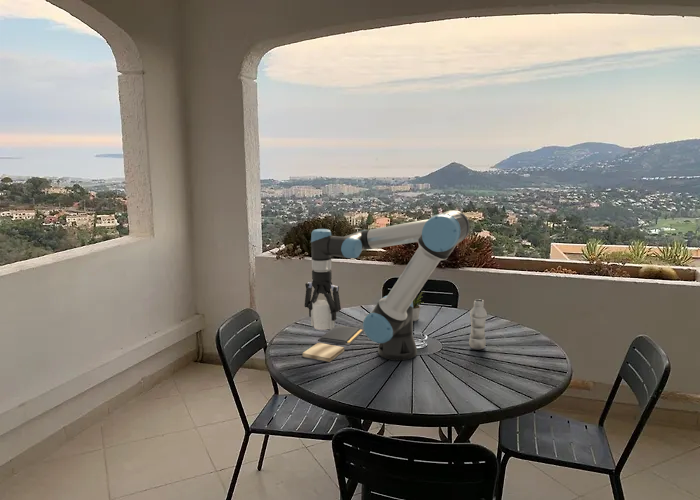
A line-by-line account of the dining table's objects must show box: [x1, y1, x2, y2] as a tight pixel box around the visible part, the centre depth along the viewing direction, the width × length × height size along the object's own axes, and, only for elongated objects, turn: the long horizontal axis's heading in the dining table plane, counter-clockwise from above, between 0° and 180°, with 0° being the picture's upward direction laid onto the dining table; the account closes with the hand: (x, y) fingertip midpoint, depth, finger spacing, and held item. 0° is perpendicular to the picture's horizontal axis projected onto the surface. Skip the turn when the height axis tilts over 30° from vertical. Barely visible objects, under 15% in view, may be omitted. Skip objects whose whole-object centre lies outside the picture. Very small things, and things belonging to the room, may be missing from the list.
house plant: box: [413, 290, 424, 322], centre depth 249 cm, size 14×14×16 cm
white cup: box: [312, 299, 331, 331], centre depth 207 cm, size 8×8×10 cm
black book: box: [317, 324, 364, 346], centre depth 230 cm, size 20×2×15 cm
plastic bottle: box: [468, 298, 488, 351], centre depth 212 cm, size 6×7×20 cm
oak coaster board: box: [302, 342, 345, 363], centre depth 210 cm, size 12×12×2 cm
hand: (322, 326), depth 208 cm, fingers closed on white cup, 7 cm apart
